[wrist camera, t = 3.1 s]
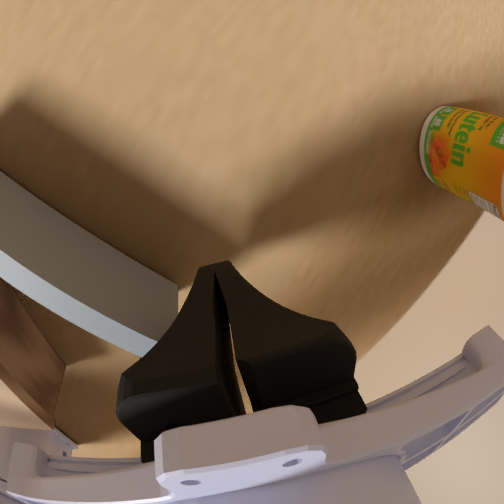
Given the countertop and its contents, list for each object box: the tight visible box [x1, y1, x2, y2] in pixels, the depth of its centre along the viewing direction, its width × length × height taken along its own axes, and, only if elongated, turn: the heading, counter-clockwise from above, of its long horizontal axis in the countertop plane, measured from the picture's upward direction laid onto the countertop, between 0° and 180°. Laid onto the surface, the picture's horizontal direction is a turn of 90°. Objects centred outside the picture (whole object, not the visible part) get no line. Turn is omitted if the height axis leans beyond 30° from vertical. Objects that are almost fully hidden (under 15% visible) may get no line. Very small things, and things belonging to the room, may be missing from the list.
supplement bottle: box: [419, 106, 504, 221], centre depth 10 cm, size 5×5×10 cm
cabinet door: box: [0, 171, 178, 357], centre depth 10 cm, size 15×1×5 cm, turn 50°
